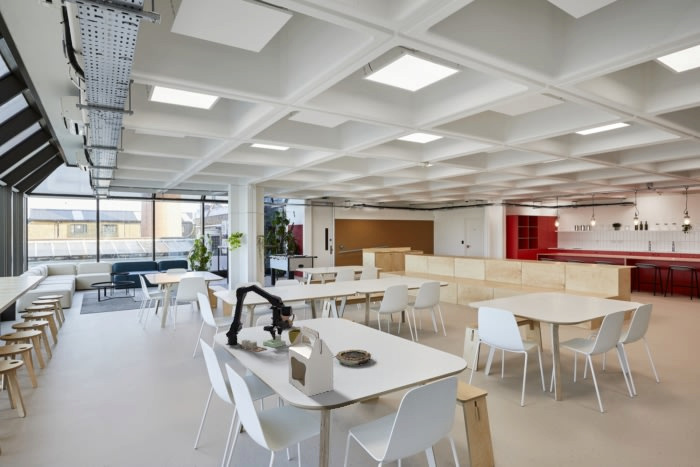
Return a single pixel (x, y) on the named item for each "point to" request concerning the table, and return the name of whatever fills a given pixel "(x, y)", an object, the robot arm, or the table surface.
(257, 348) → the walnut tray
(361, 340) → the table surface
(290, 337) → the flower pot
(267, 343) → the green bin
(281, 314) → the ceramic jug
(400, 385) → the table surface
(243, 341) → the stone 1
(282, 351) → the table surface
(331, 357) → the gable box
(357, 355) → the pie
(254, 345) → the white small cube
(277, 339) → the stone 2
